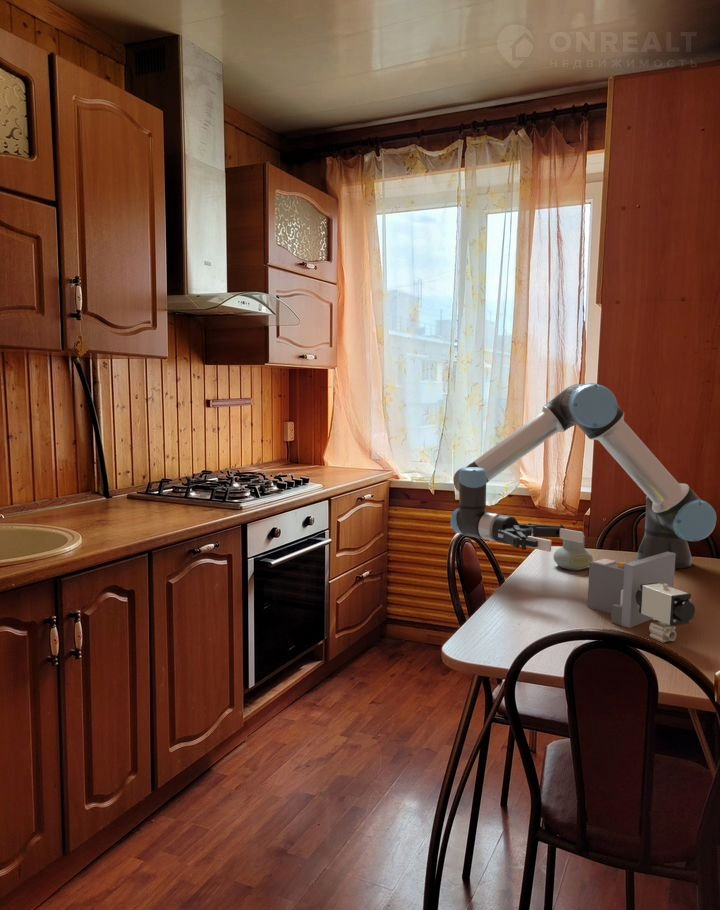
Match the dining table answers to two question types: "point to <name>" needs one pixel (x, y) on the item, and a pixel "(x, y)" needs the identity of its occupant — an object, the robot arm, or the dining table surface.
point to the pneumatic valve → (664, 609)
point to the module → (605, 584)
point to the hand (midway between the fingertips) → (566, 541)
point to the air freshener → (573, 556)
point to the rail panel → (634, 576)
